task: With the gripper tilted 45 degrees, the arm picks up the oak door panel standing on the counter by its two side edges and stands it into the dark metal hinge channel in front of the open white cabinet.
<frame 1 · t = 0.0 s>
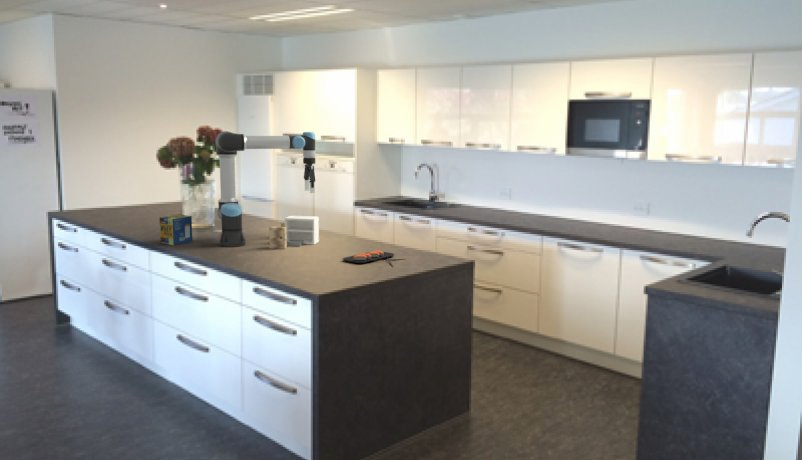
hand: (309, 191, 417), 28 cm above the countertop, tool pointing down, fingers open, 13 cm apart
door: (278, 248, 384), on the countertop
sushi plate: (379, 262, 354), on the countertop
protein box: (176, 242, 396), on the countertop
cabinet: (302, 242, 402), on the countertop
cheese: (290, 237, 417), on the countertop
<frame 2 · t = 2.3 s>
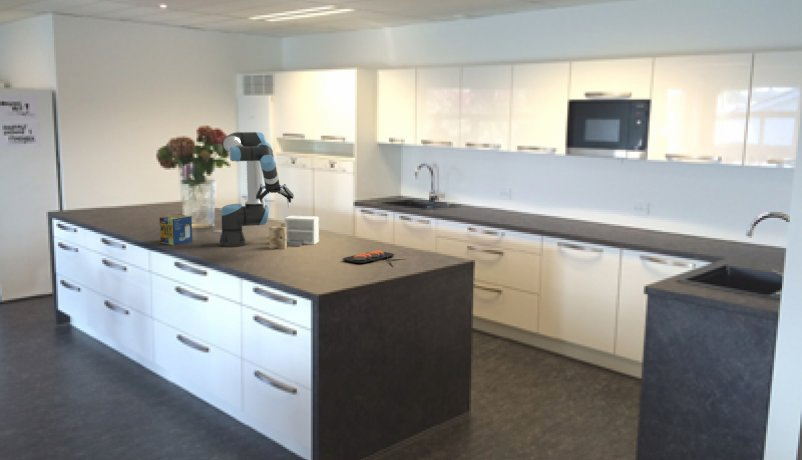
hand: (276, 205, 372), 25 cm above the countertop, tool tilted 40°, fingers open, 13 cm apart
nothing on the countertop moved.
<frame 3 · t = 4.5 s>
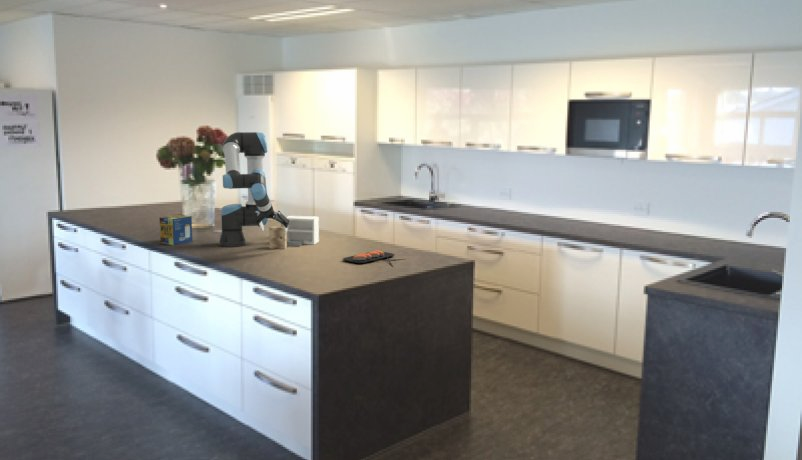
hand: (274, 229, 375), 12 cm above the countertop, tool tilted 45°, fingers open, 13 cm apart
nothing on the countertop moved.
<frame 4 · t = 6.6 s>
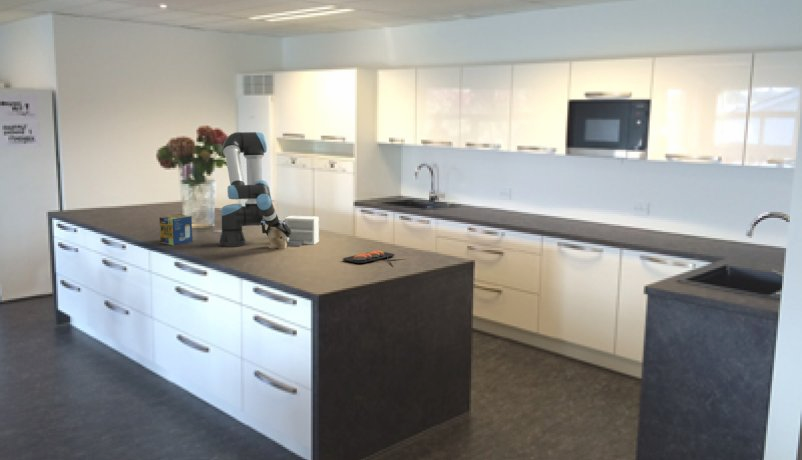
hand: (280, 239, 386), 4 cm above the countertop, tool tilted 45°, fingers closed on door, 9 cm apart
door: (278, 247, 384), on the countertop, touching gripper
everything else where it was.
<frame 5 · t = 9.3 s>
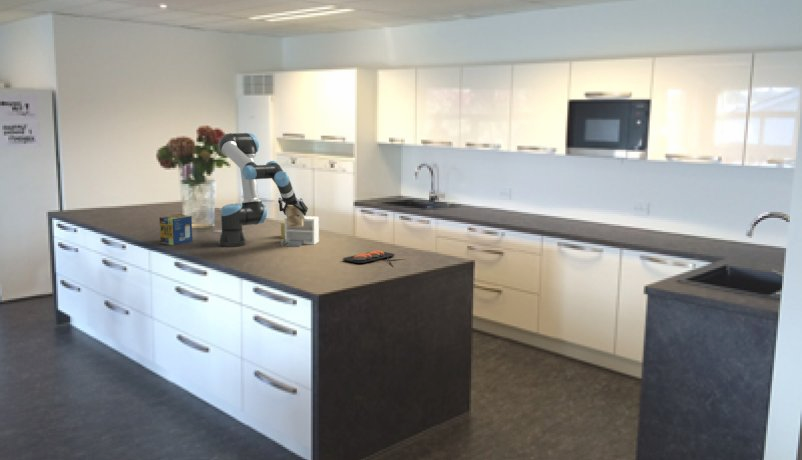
hand: (296, 217, 393), 16 cm above the countertop, tool tilted 45°, fingers closed on door, 9 cm apart
door: (295, 225, 390), point 11 cm above the countertop, touching gripper
everything else where it was.
when the fingers open (6 cm above the countertop, at t = 12.2 s): door drops 1 cm, resting in cabinet.
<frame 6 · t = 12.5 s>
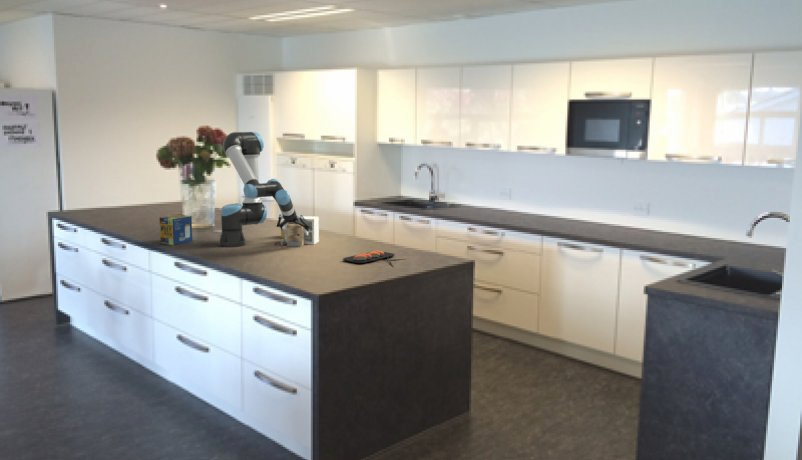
hand: (296, 233, 394), 7 cm above the countertop, tool tilted 45°, fingers open, 13 cm apart
door: (295, 245, 393), resting in cabinet
everything else where it was.
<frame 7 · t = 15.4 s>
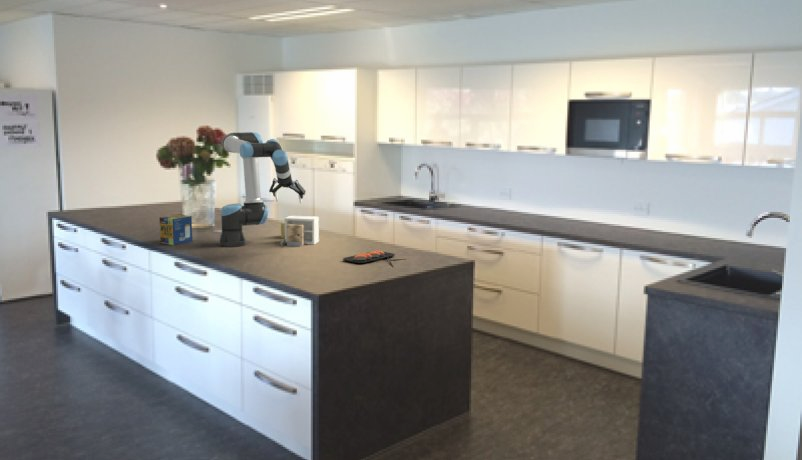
hand: (289, 200, 380), 27 cm above the countertop, tool tilted 40°, fingers open, 13 cm apart
nothing on the countertop moved.
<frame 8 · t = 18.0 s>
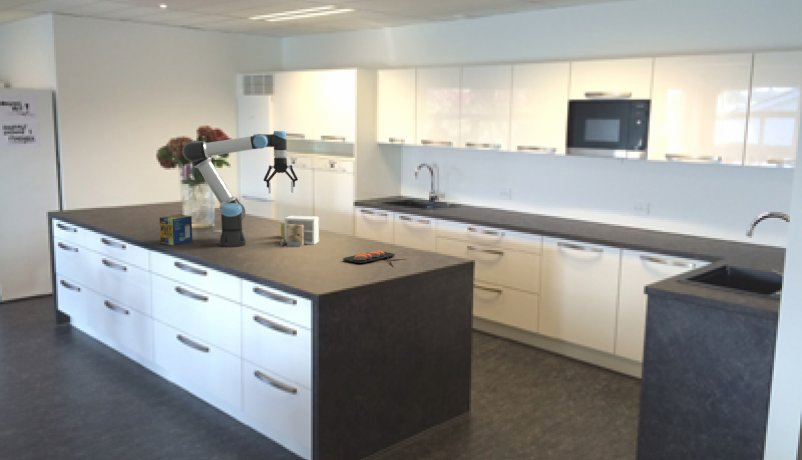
hand: (280, 192, 403), 29 cm above the countertop, tool pointing down, fingers open, 13 cm apart
nothing on the countertop moved.
at the end: door 0.1 cm from the target spot, resting in cabinet; door tilted 0°; the gripper is holding nothing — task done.
